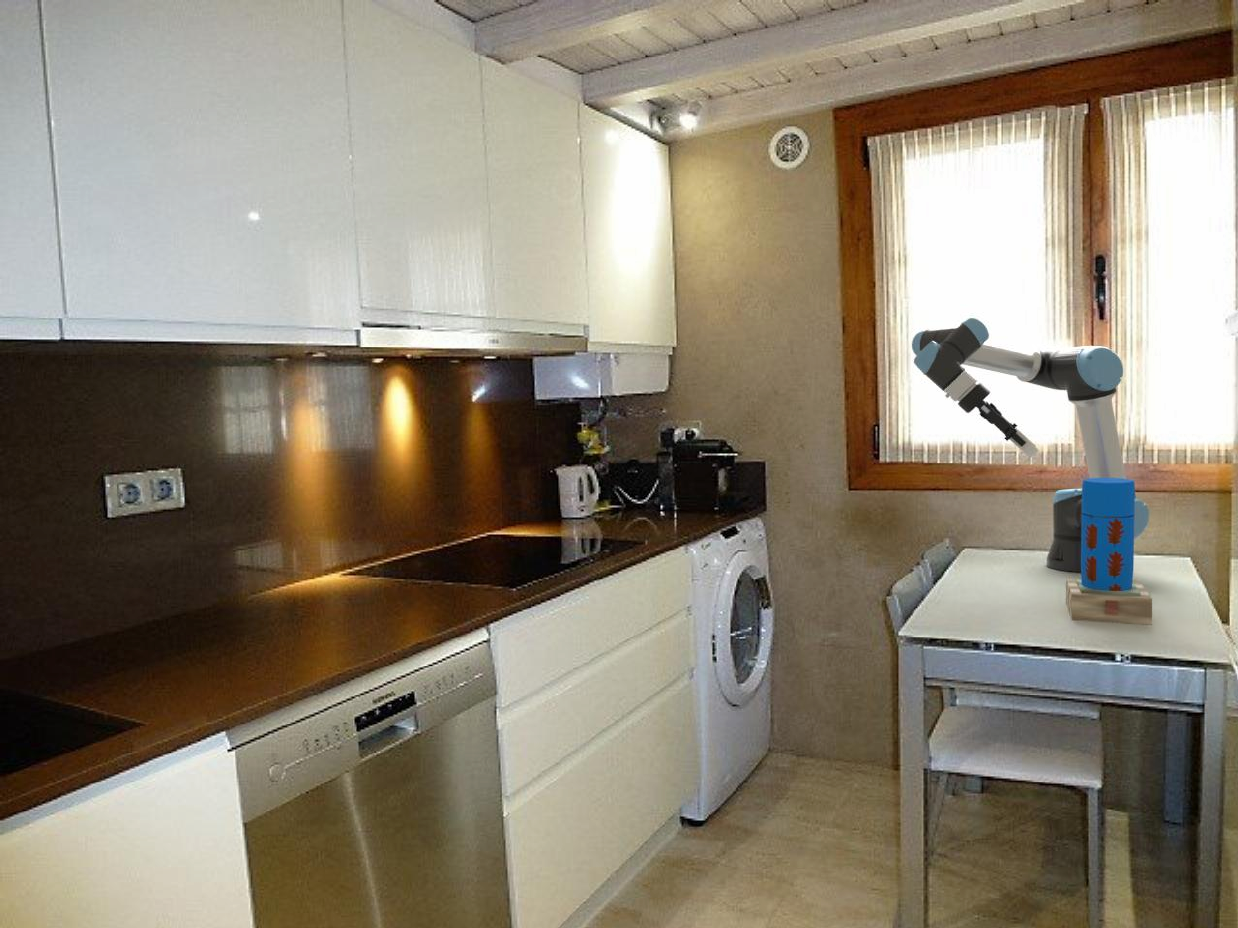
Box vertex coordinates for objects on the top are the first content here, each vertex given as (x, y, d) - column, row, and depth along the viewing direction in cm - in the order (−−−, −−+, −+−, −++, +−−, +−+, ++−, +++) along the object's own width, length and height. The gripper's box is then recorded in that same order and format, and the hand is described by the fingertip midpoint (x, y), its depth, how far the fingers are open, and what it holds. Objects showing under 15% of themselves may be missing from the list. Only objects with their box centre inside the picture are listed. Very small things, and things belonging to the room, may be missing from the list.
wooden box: (1065, 602, 219) (1066, 576, 218) (1139, 607, 213) (1140, 580, 212) (1072, 620, 204) (1072, 592, 203) (1152, 625, 198) (1152, 596, 197)
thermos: (1140, 591, 202) (1142, 482, 199) (1089, 590, 204) (1090, 483, 202) (1123, 580, 212) (1125, 477, 210) (1075, 580, 214) (1076, 477, 212)
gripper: (957, 401, 235) (1019, 457, 230) (954, 405, 212) (1023, 467, 207) (979, 380, 232) (1041, 437, 228) (978, 382, 209) (1048, 444, 205)
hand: (1033, 451), depth 218 cm, fingers open, 13 cm apart
